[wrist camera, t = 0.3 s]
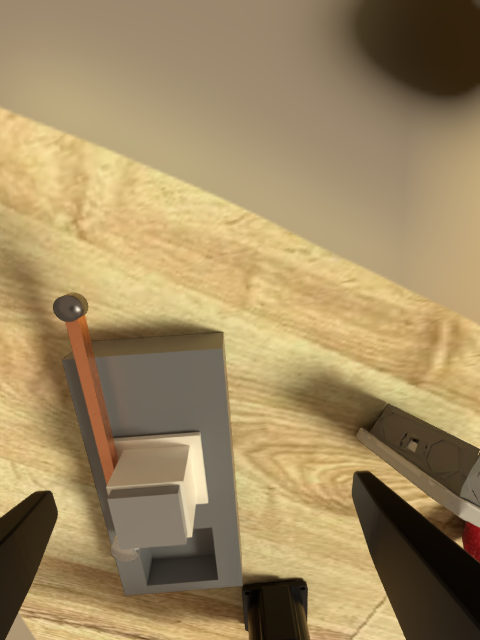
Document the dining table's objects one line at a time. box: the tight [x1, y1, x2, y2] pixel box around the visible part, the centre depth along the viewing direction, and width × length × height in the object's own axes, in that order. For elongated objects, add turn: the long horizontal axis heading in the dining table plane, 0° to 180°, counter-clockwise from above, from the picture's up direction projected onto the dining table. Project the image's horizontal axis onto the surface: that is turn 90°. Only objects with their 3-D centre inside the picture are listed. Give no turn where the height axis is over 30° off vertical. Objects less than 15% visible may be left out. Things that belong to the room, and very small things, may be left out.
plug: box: [106, 432, 208, 550], centre depth 20 cm, size 6×6×6 cm
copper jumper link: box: [53, 293, 141, 562], centre depth 19 cm, size 19×2×1 cm, turn 3°
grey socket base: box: [62, 332, 243, 596], centre depth 23 cm, size 22×10×4 cm, turn 3°
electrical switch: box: [356, 404, 480, 527], centre depth 20 cm, size 9×5×9 cm, turn 57°
